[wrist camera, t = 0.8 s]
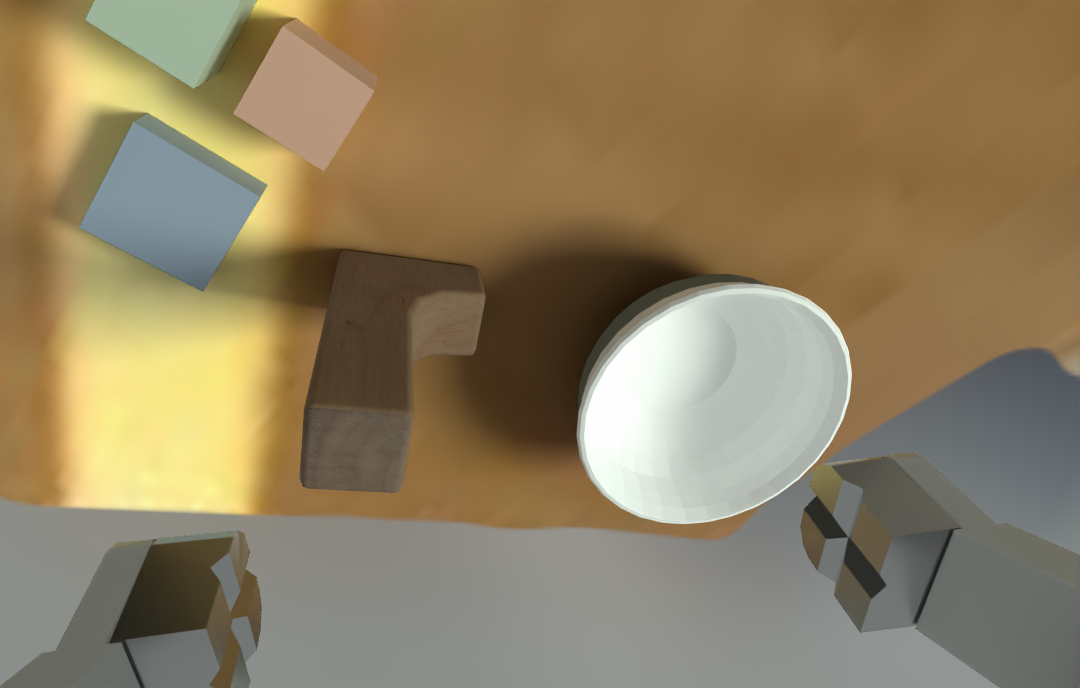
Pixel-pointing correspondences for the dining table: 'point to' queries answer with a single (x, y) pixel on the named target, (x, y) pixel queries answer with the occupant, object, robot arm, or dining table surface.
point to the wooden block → (380, 364)
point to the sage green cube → (175, 32)
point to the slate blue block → (172, 202)
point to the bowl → (710, 398)
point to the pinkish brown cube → (306, 94)
